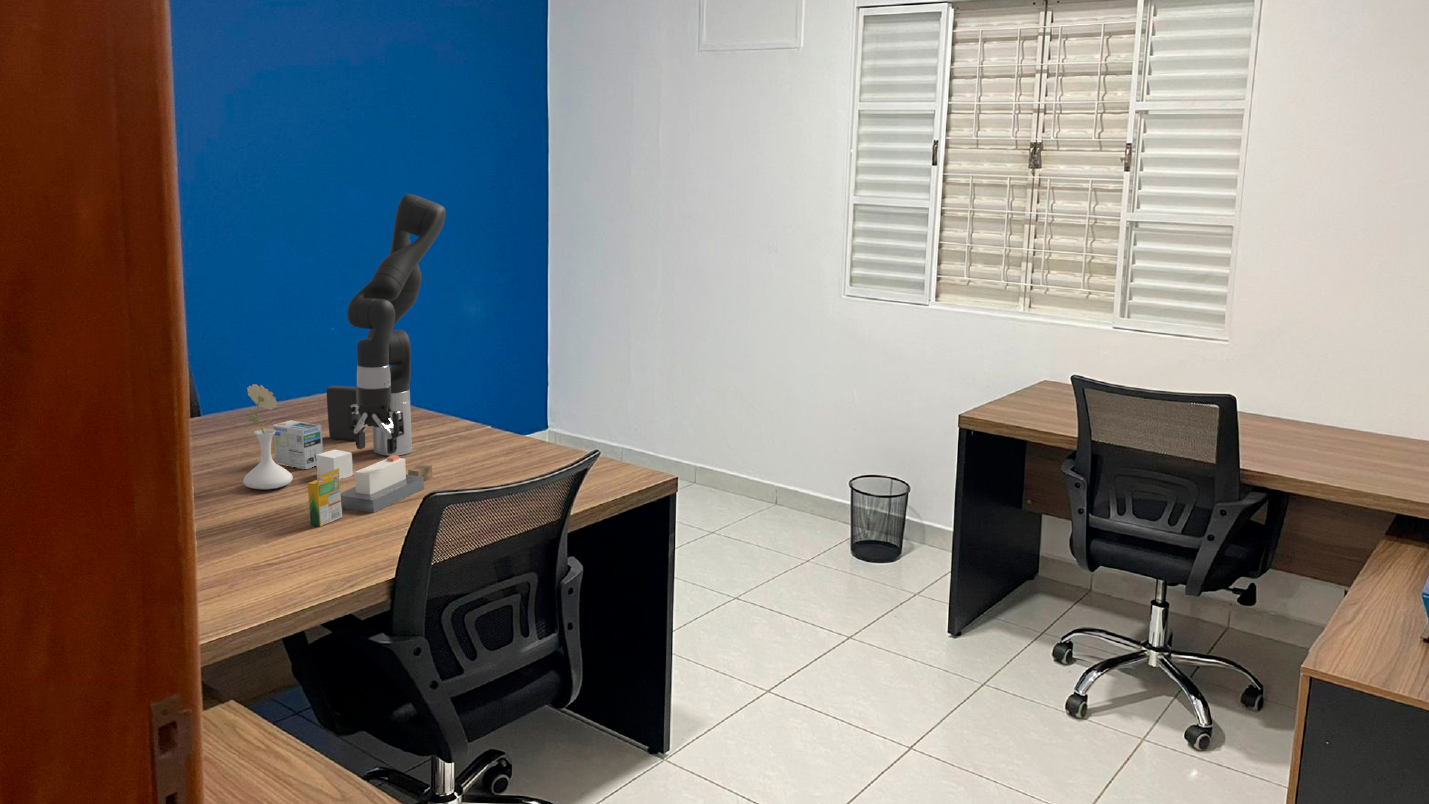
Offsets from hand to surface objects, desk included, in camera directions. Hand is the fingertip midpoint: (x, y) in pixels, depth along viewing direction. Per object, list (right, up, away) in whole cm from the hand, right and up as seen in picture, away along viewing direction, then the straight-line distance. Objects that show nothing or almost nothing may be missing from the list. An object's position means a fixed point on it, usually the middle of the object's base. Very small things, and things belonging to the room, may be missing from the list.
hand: (376, 450), depth 270 cm
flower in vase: (-30, -9, +10) cm, 33 cm away
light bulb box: (-28, -5, +28) cm, 40 cm away
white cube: (-16, -7, +19) cm, 26 cm away
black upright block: (-24, +1, +54) cm, 59 cm away
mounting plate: (+1, -11, +3) cm, 12 cm away
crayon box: (-7, -15, -14) cm, 22 cm away
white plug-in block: (+1, -11, +3) cm, 11 cm away
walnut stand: (+6, -8, +17) cm, 20 cm away
